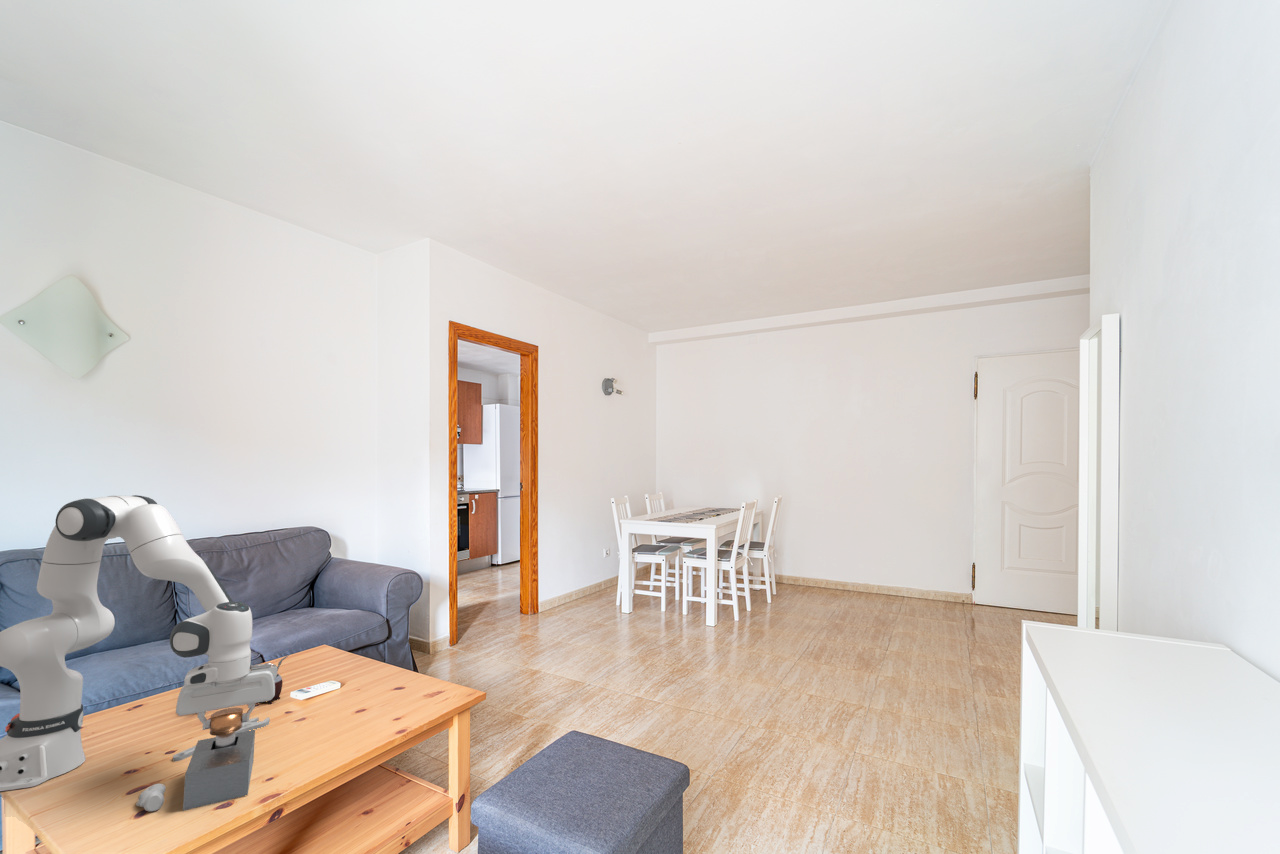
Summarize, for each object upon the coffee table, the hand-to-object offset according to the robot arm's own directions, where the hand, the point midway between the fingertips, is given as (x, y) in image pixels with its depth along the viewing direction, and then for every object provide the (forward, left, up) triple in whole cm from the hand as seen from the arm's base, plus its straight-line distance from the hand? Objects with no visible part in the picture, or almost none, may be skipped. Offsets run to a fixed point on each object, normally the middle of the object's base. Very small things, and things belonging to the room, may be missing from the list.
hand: (226, 724), depth 142 cm
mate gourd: (+8, +48, -13) cm, 50 cm away
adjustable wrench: (-3, +24, -13) cm, 27 cm away
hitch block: (0, -4, -12) cm, 13 cm away
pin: (0, 0, -8) cm, 8 cm away
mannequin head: (-13, -7, -13) cm, 19 cm away
